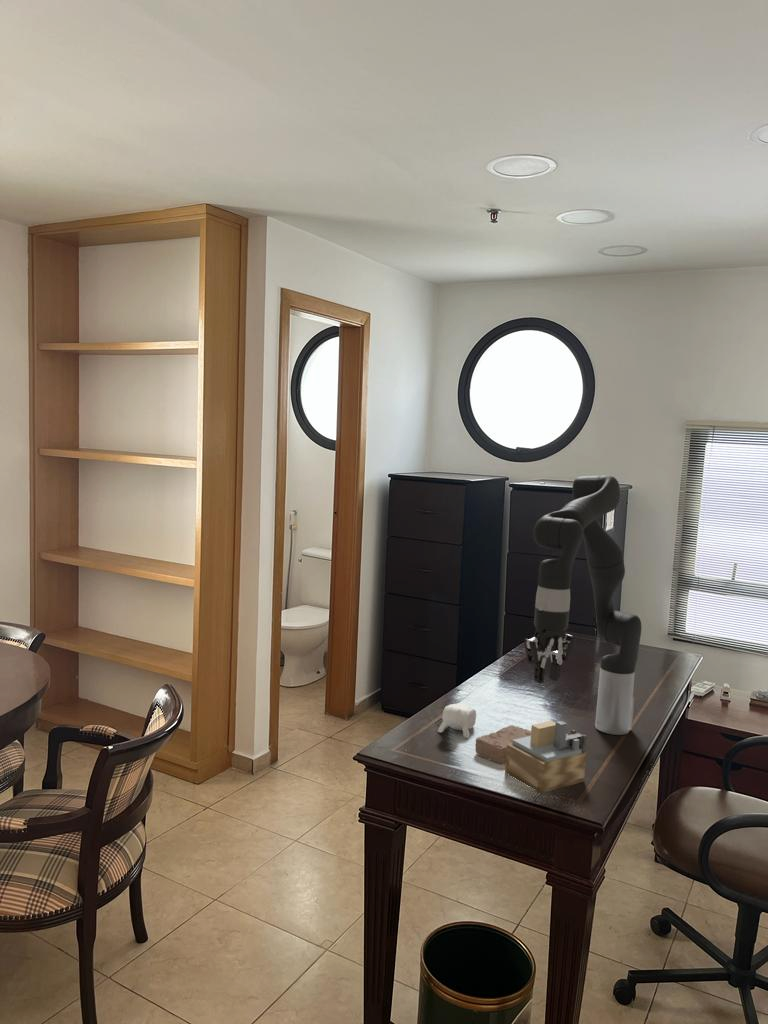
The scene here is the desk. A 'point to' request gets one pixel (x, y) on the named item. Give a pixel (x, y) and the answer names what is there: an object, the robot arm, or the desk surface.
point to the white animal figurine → (458, 718)
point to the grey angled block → (564, 736)
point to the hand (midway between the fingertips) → (546, 680)
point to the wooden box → (546, 768)
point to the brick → (499, 742)
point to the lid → (545, 743)
